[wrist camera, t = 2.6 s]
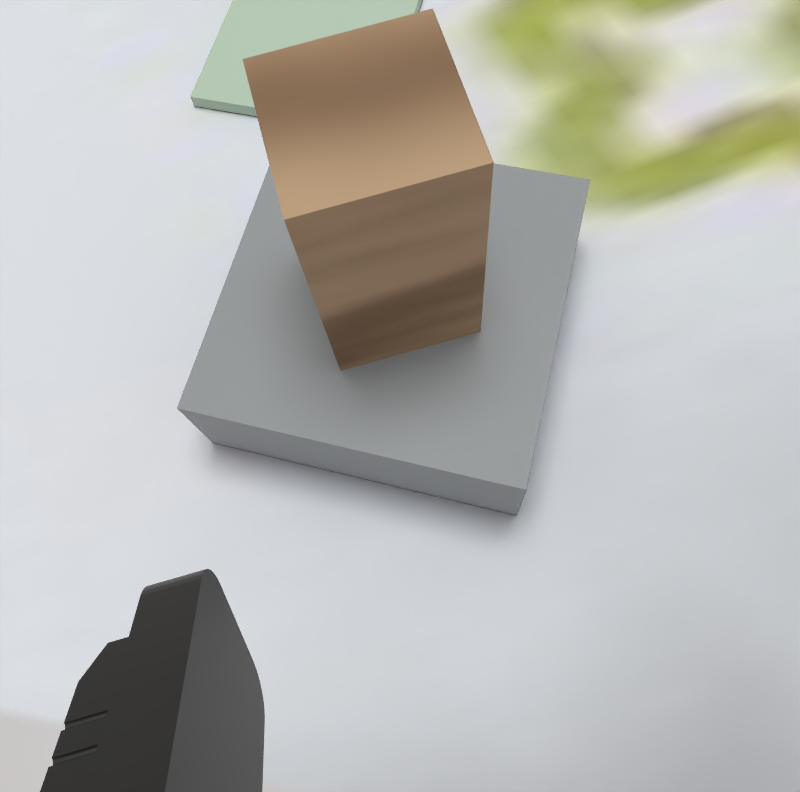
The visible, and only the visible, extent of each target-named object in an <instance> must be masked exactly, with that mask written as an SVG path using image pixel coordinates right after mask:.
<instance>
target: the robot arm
mask: <svg viewBox="0 0 800 792" xmlns="http://www.w3.org/2000/svg"><path fill="white" fill-rule="evenodd" d="M264 722H265V714H264V702H263V695H262V690H261V685H260V681H259V677H258V673H257V670H256V667H255V665H254V662H253V660H252V657H251V655H250V653H249V650H248V648H247V646H246V643H245V641H244V639H243V636H242V634H241V632H240V629H239V627H238V625H237V622H236V620H235V618H234V615H233V613H232V611H231V608H230V606H229V604H228V601H227V599H226V597H225V594H224V592H223V590H222V587H221V585H220V583H219V581H218V579H217V577H216V576H215V574H214V573H213V572H212V571H211V570H209V569H205V570H202V571H198V572H195V573H191V574H188V575H184V576H181V577H178V578H174V579H171V580H167V581H164V582H160V583H157V584H153V585H150V586H147V587H145V588H144V589H143V591H142V593H141V596H140V600H139V603H138V607H137V610H136V614H135V617H134V621H133V624H132V628H131V631H130V635H129V637H127V638H123V639H120V640H116V641H113V642H109V643H108V644H107V645H106V646H105V648H104V649H103V650H102V652H101V653H100V654H99V655H98V657H97V658H96V659H95V661H94V662H93V663H92V665H91V666H90V667H89V669H88V670H87V671H86V673H85V674H84V675H83V676H82V678H81V679H80V680H79V682H78V684H77V687H76V690H75V693H74V696H73V699H72V702H71V704H70V707H69V710H68V713H67V716H66V719H65V722H64V723H65V730H63V731H61V733H60V736H59V739H58V742H57V745H56V748H55V751H54V754H53V756H52V759H53V766H51V767H49V768H48V771H47V773H46V776H45V780H44V782H43V785H42V788H41V791H40V792H262V780H263V751H264Z"/></svg>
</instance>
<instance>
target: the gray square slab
mask: <svg viewBox="0 0 800 792" xmlns="http://www.w3.org/2000/svg"><path fill="white" fill-rule="evenodd" d="M589 183H590V180H588V179H583V178H577V177H571V176H565V175H559V174H553V173H547V172H541V171H535V170H529V169H523V168H517V167H511V166H505V165H499V164H493V177H492V190H491V203H490V216H489V229H488V242H487V256H486V269H485V282H484V295H483V308H482V322H481V332H477V333H474V334H470V335H466V336H463V337H459V338H456V339H452V340H449V341H445V342H441V343H438V344H434V345H431V346H427V347H424V348H420V349H417V350H413V351H409V352H406V353H402V354H399V355H395V356H392V357H388V358H385V359H381V360H377V361H374V362H370V363H367V364H363V365H360V366H356V367H352V368H349V369H345V370H342V371H340V368H339V366H338V363H337V360H336V358H335V355H334V352H333V350H332V347H331V344H330V342H329V339H328V336H327V334H326V331H325V328H324V326H323V323H322V320H321V318H320V315H319V312H318V310H317V307H316V304H315V302H314V299H313V296H312V294H311V291H310V288H309V286H308V283H307V280H306V278H305V275H304V272H303V270H302V267H301V264H300V262H299V259H298V256H297V254H296V251H295V248H294V246H293V243H292V240H291V238H290V235H289V232H288V230H287V227H286V224H285V222H284V219H283V215H282V211H281V207H280V203H279V199H278V195H277V191H276V187H275V184H274V180H273V176H272V172H271V168H270V166H269V168H268V171H267V173H266V176H265V179H264V181H263V184H262V187H261V189H260V192H259V194H258V197H257V200H256V202H255V205H254V208H253V210H252V213H251V215H250V218H249V221H248V223H247V226H246V229H245V231H244V234H243V236H242V239H241V242H240V244H239V247H238V250H237V252H236V255H235V258H234V260H233V263H232V265H231V268H230V271H229V273H228V276H227V279H226V281H225V284H224V286H223V289H222V292H221V294H220V297H219V300H218V302H217V305H216V307H215V310H214V313H213V315H212V318H211V321H210V323H209V326H208V328H207V331H206V334H205V336H204V339H203V342H202V344H201V347H200V349H199V352H198V355H197V357H196V360H195V363H194V365H193V368H192V370H191V373H190V376H189V378H188V381H187V384H186V386H185V389H184V391H183V394H182V397H181V399H180V402H179V405H178V407H177V409H178V410H179V411H180V412H182V413H183V414H184V415H185V416H186V417H187V418H188V419H189V420H190V421H191V422H192V423H193V424H194V425H195V426H196V427H197V428H198V429H199V430H200V431H201V432H202V433H203V434H204V435H205V436H206V437H208V438H209V439H210V440H211V441H212V442H213V443H216V444H221V445H225V446H229V447H233V448H237V449H242V450H246V451H250V452H254V453H258V454H262V455H267V456H271V457H275V458H279V459H283V460H287V461H292V462H296V463H300V464H304V465H308V466H313V467H317V468H321V469H325V470H329V471H333V472H338V473H342V474H346V475H350V476H354V477H358V478H363V479H367V480H371V481H375V482H379V483H384V484H388V485H392V486H396V487H400V488H404V489H409V490H413V491H417V492H421V493H425V494H429V495H434V496H438V497H442V498H446V499H450V500H455V501H459V502H463V503H467V504H471V505H475V506H480V507H484V508H488V509H492V510H496V511H500V512H505V513H509V514H513V515H517V513H518V510H519V507H520V505H521V502H522V500H523V497H524V494H525V492H526V489H527V484H528V479H529V474H530V469H531V464H532V459H533V455H534V450H535V445H536V440H537V435H538V430H539V426H540V421H541V416H542V411H543V406H544V401H545V396H546V392H547V387H548V382H549V377H550V372H551V367H552V362H553V358H554V353H555V348H556V343H557V338H558V333H559V328H560V324H561V319H562V314H563V309H564V304H565V299H566V294H567V290H568V285H569V280H570V275H571V270H572V265H573V260H574V256H575V251H576V246H577V241H578V236H579V231H580V226H581V222H582V217H583V212H584V207H585V202H586V197H587V192H588V188H589Z"/></svg>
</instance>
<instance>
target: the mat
mask: <svg viewBox="0 0 800 792" xmlns="http://www.w3.org/2000/svg"><path fill="white" fill-rule="evenodd" d="M421 3H422V0H233V1H232V3H231V6H230V8H229V10H228V13H227V15H226V17H225V19H224V22H223V24H222V26H221V28H220V31H219V33H218V35H217V38H216V40H215V42H214V44H213V47H212V49H211V51H210V53H209V56H208V58H207V60H206V63H205V65H204V67H203V69H202V72H201V74H200V76H199V78H198V81H197V83H196V85H195V88H194V90H193V92H192V94H191V99H192V101H193V103H194V106H197V107H203V108H209V109H215V110H222V111H228V112H234V113H240V114H246V115H252V116H257V114H256V110H255V106H254V102H253V98H252V94H251V90H250V87H249V83H248V79H247V75H246V71H245V67H244V63H243V59H245V58H249V57H252V56H256V55H260V54H264V53H267V52H271V51H275V50H279V49H283V48H286V47H290V46H294V45H298V44H301V43H305V42H309V41H313V40H316V39H320V38H324V37H328V36H331V35H335V34H339V33H343V32H346V31H350V30H354V29H358V28H361V27H365V26H369V25H373V24H377V23H380V22H384V21H388V20H392V19H395V18H399V17H403V16H407V15H410V14H414V13H418V12H419V9H420V6H421Z"/></svg>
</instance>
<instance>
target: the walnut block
mask: <svg viewBox="0 0 800 792" xmlns="http://www.w3.org/2000/svg"><path fill="white" fill-rule="evenodd" d="M243 63H244V67H245V71H246V75H247V79H248V83H249V87H250V90H251V94H252V98H253V102H254V106H255V110H256V114H257V118H258V122H259V125H260V129H261V133H262V137H263V141H264V145H265V149H266V153H267V156H268V160H269V164H270V168H271V172H272V176H273V180H274V184H275V187H276V191H277V195H278V199H279V203H280V207H281V211H282V215H283V219H284V222H285V224H286V227H287V230H288V232H289V235H290V238H291V240H292V243H293V246H294V248H295V251H296V254H297V256H298V259H299V262H300V264H301V267H302V270H303V272H304V275H305V278H306V280H307V283H308V286H309V288H310V291H311V294H312V296H313V299H314V302H315V304H316V307H317V310H318V312H319V315H320V318H321V320H322V323H323V326H324V328H325V331H326V334H327V336H328V339H329V342H330V344H331V347H332V350H333V352H334V355H335V358H336V360H337V363H338V366H339V368H340V371H342V370H345V369H349V368H352V367H356V366H360V365H363V364H367V363H370V362H374V361H377V360H381V359H385V358H388V357H392V356H395V355H399V354H402V353H406V352H409V351H413V350H417V349H420V348H424V347H427V346H431V345H434V344H438V343H441V342H445V341H449V340H452V339H456V338H459V337H463V336H466V335H470V334H474V333H477V332H481V322H482V308H483V295H484V282H485V269H486V256H487V242H488V229H489V216H490V203H491V190H492V177H493V163H494V162H493V160H492V157H491V155H490V152H489V150H488V147H487V145H486V142H485V140H484V137H483V134H482V132H481V129H480V127H479V124H478V122H477V119H476V117H475V114H474V112H473V109H472V107H471V104H470V102H469V99H468V97H467V94H466V92H465V89H464V86H463V84H462V81H461V79H460V76H459V74H458V71H457V69H456V66H455V64H454V61H453V59H452V56H451V54H450V51H449V49H448V46H447V43H446V41H445V38H444V36H443V33H442V31H441V28H440V26H439V23H438V21H437V18H436V16H435V13H434V11H433V9H429V10H425V11H422V12H418V13H414V14H410V15H407V16H403V17H399V18H395V19H392V20H388V21H384V22H380V23H377V24H373V25H369V26H365V27H361V28H358V29H354V30H350V31H346V32H343V33H339V34H335V35H331V36H328V37H324V38H320V39H316V40H313V41H309V42H305V43H301V44H298V45H294V46H290V47H286V48H283V49H279V50H275V51H271V52H267V53H264V54H260V55H256V56H252V57H249V58H245V59H243Z"/></svg>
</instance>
